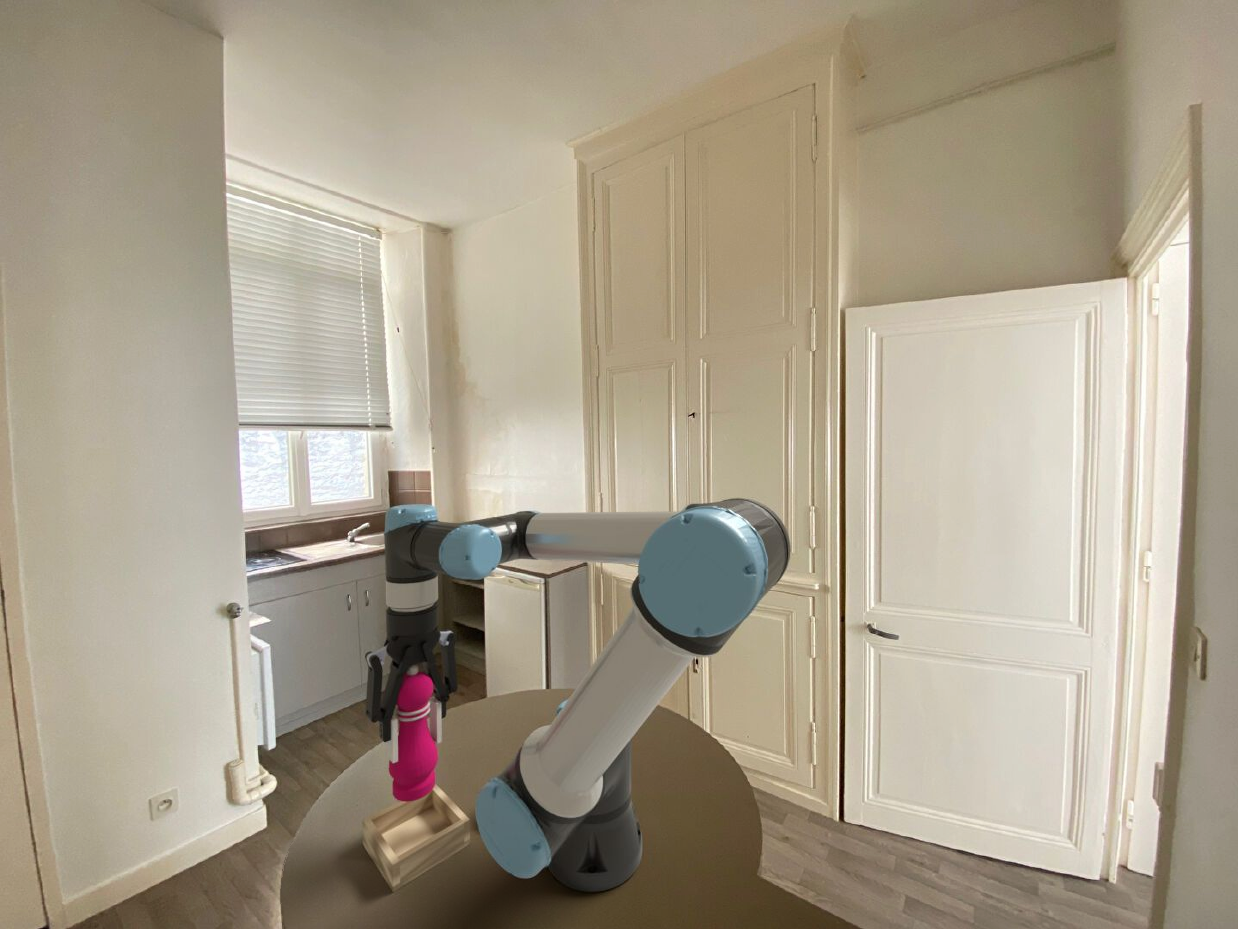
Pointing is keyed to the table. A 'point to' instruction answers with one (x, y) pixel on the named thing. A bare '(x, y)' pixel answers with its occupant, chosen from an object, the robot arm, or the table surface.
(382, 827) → the tray
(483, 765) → the table surface
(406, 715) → the pepper mill
